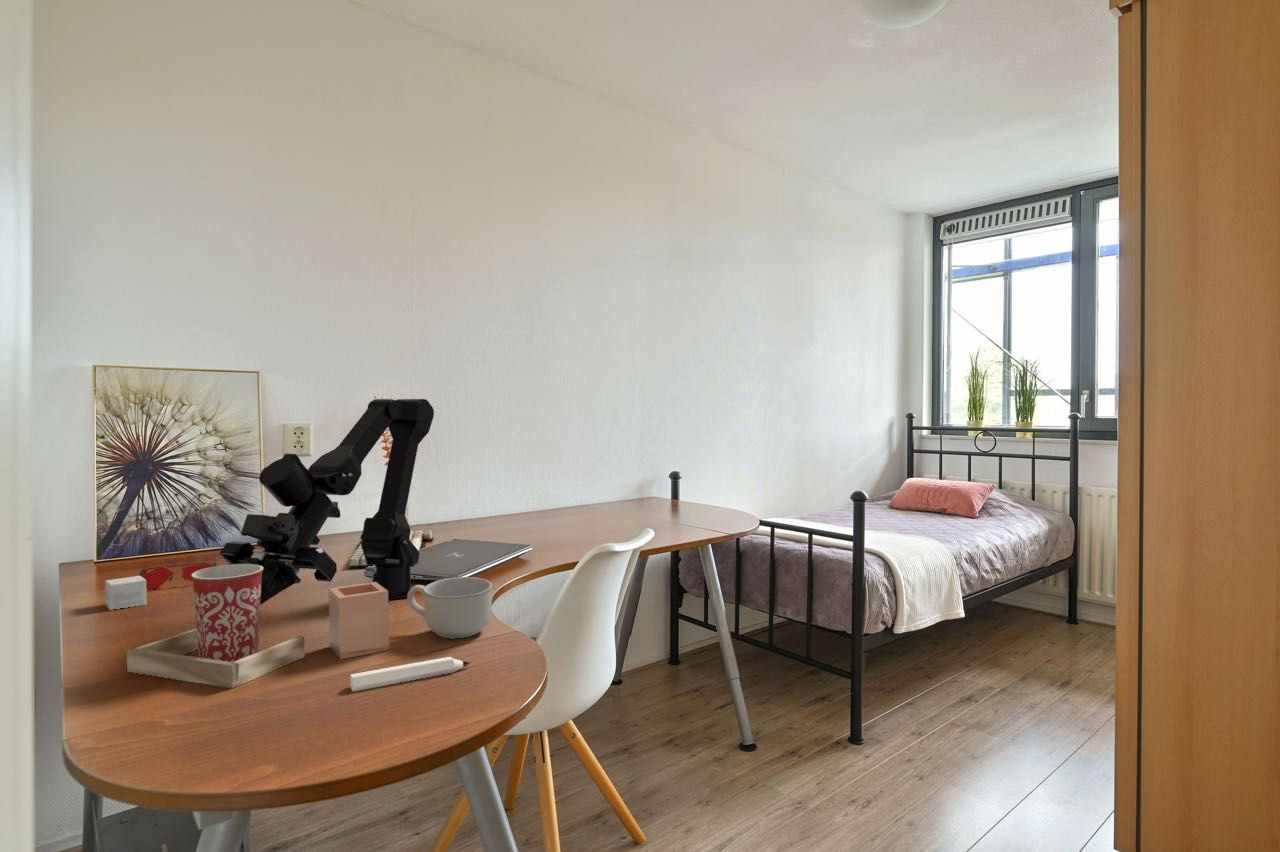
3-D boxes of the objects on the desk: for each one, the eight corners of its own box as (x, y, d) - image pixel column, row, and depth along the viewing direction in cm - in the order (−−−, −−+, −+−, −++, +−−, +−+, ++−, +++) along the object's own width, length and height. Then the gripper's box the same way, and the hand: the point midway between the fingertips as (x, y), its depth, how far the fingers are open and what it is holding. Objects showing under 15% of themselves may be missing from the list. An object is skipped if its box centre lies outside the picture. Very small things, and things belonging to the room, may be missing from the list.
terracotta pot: (376, 638, 116) (375, 581, 115) (389, 650, 110) (388, 591, 110) (329, 646, 112) (328, 588, 111) (340, 659, 106) (339, 598, 106)
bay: (206, 644, 113) (206, 625, 113) (304, 656, 107) (304, 636, 107) (127, 672, 101) (126, 650, 101) (232, 688, 95) (232, 665, 95)
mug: (269, 666, 103) (267, 571, 103) (195, 679, 98) (193, 580, 98) (257, 642, 114) (256, 556, 113) (189, 653, 109) (187, 564, 108)
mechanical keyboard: (429, 568, 168) (429, 553, 168) (341, 574, 163) (341, 559, 163) (433, 540, 205) (433, 528, 205) (362, 544, 200) (361, 531, 200)
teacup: (504, 627, 121) (504, 579, 121) (468, 647, 111) (468, 595, 111) (433, 619, 126) (433, 573, 125) (393, 638, 115) (392, 588, 115)
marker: (472, 674, 102) (351, 696, 94) (468, 663, 104) (349, 684, 96) (475, 661, 101) (353, 682, 93) (471, 650, 103) (351, 670, 95)
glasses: (136, 594, 145) (135, 569, 145) (143, 577, 159) (143, 555, 159) (216, 585, 152) (216, 562, 152) (217, 570, 166) (216, 548, 166)
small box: (140, 599, 140) (140, 574, 140) (147, 605, 136) (146, 579, 135) (104, 605, 136) (103, 579, 136) (110, 611, 132) (109, 584, 131)
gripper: (228, 491, 116) (165, 575, 106) (322, 495, 110) (265, 584, 100) (268, 532, 124) (213, 613, 114) (358, 538, 118) (309, 624, 108)
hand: (248, 608), depth 109 cm, fingers closed
